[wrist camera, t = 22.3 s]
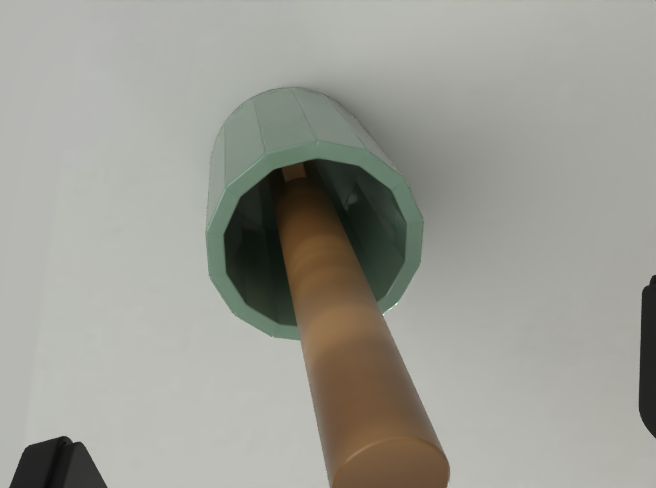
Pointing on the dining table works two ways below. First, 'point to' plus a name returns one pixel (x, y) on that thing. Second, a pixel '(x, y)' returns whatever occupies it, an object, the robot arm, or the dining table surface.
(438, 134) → the dining table surface
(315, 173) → the wooden dowel rod
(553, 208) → the dining table surface
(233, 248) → the crock
